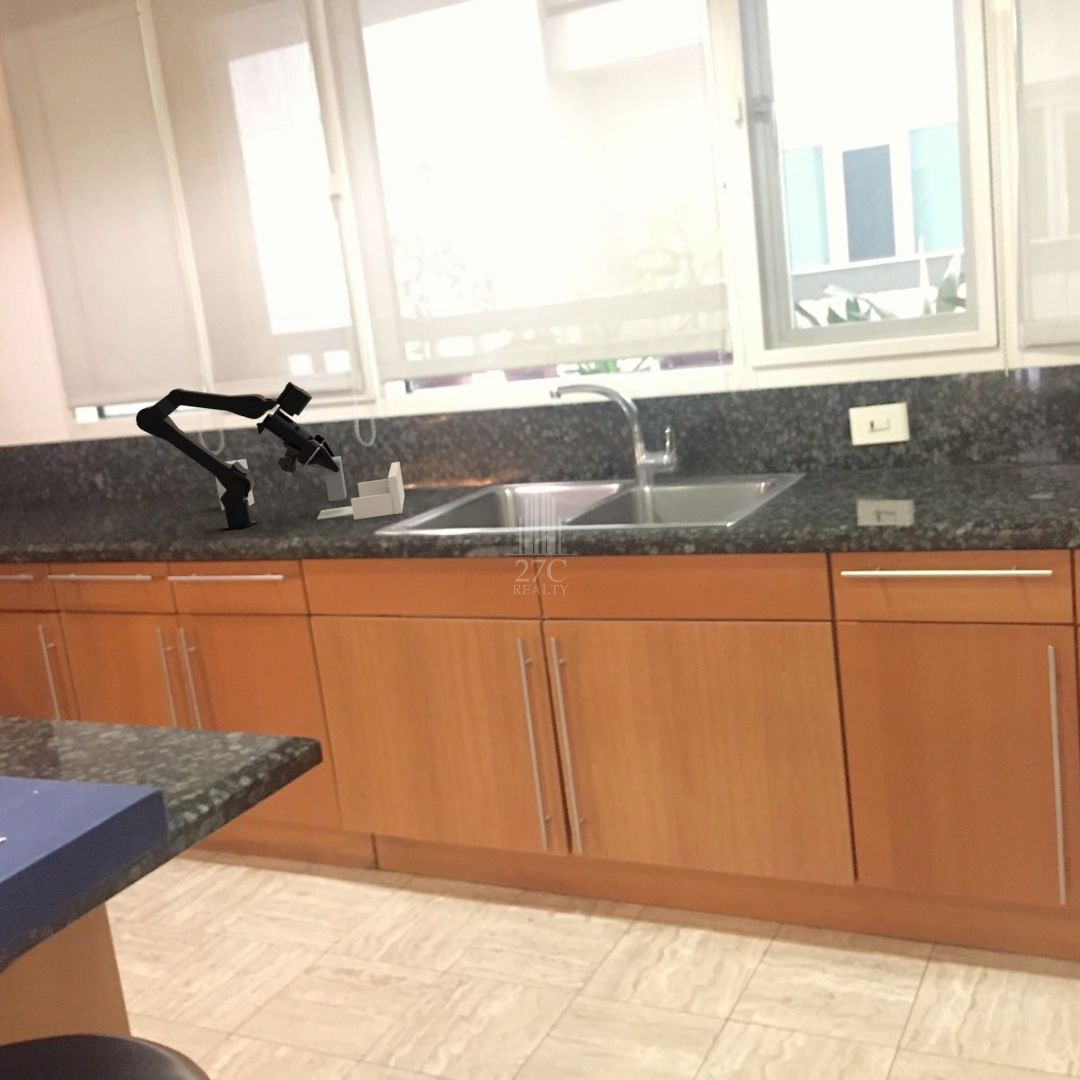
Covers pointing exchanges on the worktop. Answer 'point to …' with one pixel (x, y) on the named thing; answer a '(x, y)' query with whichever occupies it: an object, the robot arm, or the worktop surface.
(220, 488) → the supplement box
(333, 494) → the grey teal block
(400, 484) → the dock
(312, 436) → the robot arm
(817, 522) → the worktop surface
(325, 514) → the mat
